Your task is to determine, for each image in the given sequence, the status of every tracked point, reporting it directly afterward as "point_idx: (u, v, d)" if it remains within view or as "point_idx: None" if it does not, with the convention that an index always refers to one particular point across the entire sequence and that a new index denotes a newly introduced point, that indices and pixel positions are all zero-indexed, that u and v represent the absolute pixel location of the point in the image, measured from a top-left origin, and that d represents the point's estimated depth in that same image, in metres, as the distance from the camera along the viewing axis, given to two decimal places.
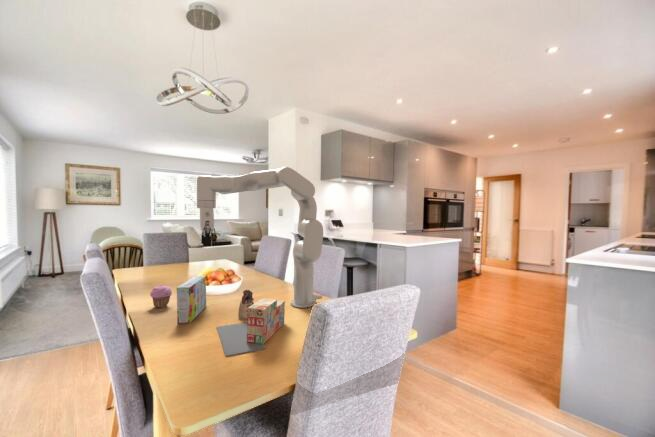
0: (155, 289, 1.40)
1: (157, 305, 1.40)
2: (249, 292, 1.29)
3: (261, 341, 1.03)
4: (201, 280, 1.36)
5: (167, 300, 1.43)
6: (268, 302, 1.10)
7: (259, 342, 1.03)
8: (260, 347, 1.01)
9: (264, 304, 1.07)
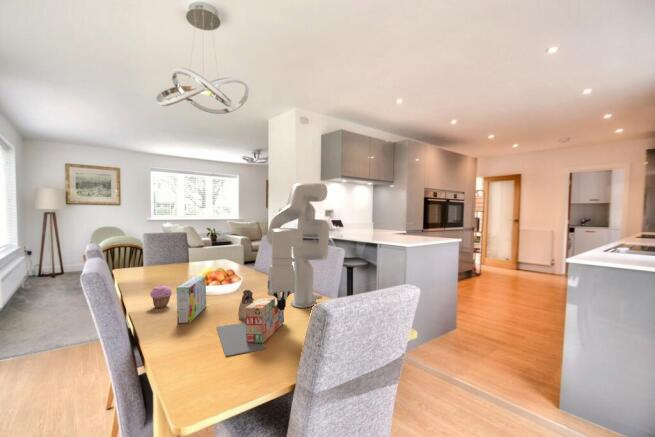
0: (155, 289, 1.40)
1: (157, 305, 1.40)
2: (249, 292, 1.29)
3: (261, 340, 1.03)
4: (200, 280, 1.36)
5: (167, 300, 1.43)
6: (266, 301, 1.11)
7: (259, 341, 1.03)
8: (260, 347, 1.01)
9: (262, 303, 1.08)
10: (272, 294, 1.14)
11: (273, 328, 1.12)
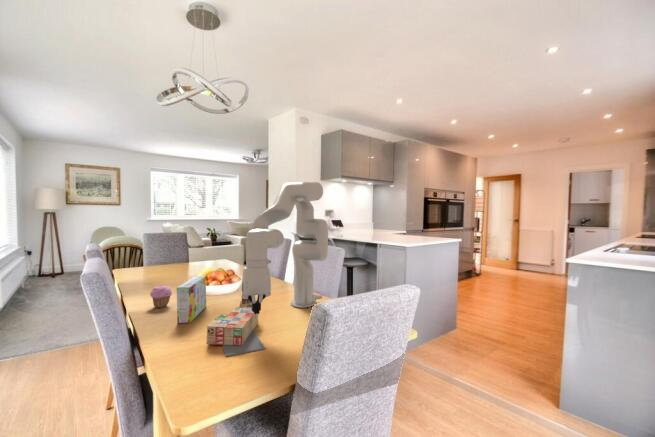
0: (155, 289, 1.40)
1: (157, 305, 1.40)
2: None
3: (239, 329, 1.02)
4: (201, 280, 1.36)
5: (167, 300, 1.43)
6: None
7: (240, 331, 1.02)
8: (260, 347, 1.01)
9: None
10: (246, 297, 1.09)
11: (246, 317, 1.11)
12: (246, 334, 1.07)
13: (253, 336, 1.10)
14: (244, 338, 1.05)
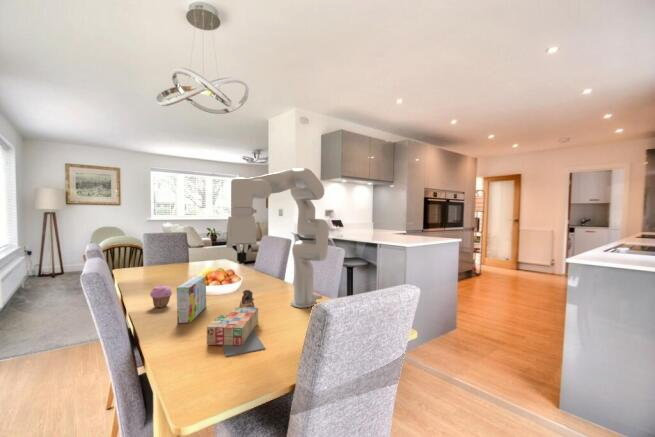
0: (155, 289, 1.40)
1: (157, 305, 1.40)
2: (249, 292, 1.29)
3: (239, 329, 1.02)
4: (201, 280, 1.36)
5: (167, 300, 1.43)
6: None
7: (240, 331, 1.02)
8: (260, 347, 1.01)
9: None
10: (231, 246, 1.07)
11: (246, 317, 1.11)
12: (246, 334, 1.07)
13: (253, 336, 1.10)
14: (244, 338, 1.05)
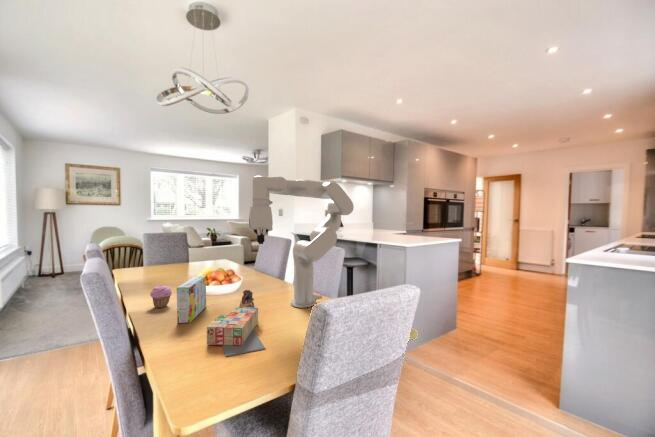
0: (155, 289, 1.40)
1: (157, 305, 1.40)
2: (249, 292, 1.29)
3: (239, 329, 1.02)
4: (201, 280, 1.36)
5: (167, 300, 1.43)
6: None
7: (240, 331, 1.02)
8: (260, 347, 1.01)
9: None
10: (252, 230, 1.35)
11: (246, 317, 1.11)
12: (246, 334, 1.07)
13: (253, 336, 1.10)
14: (244, 338, 1.05)
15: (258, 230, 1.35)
